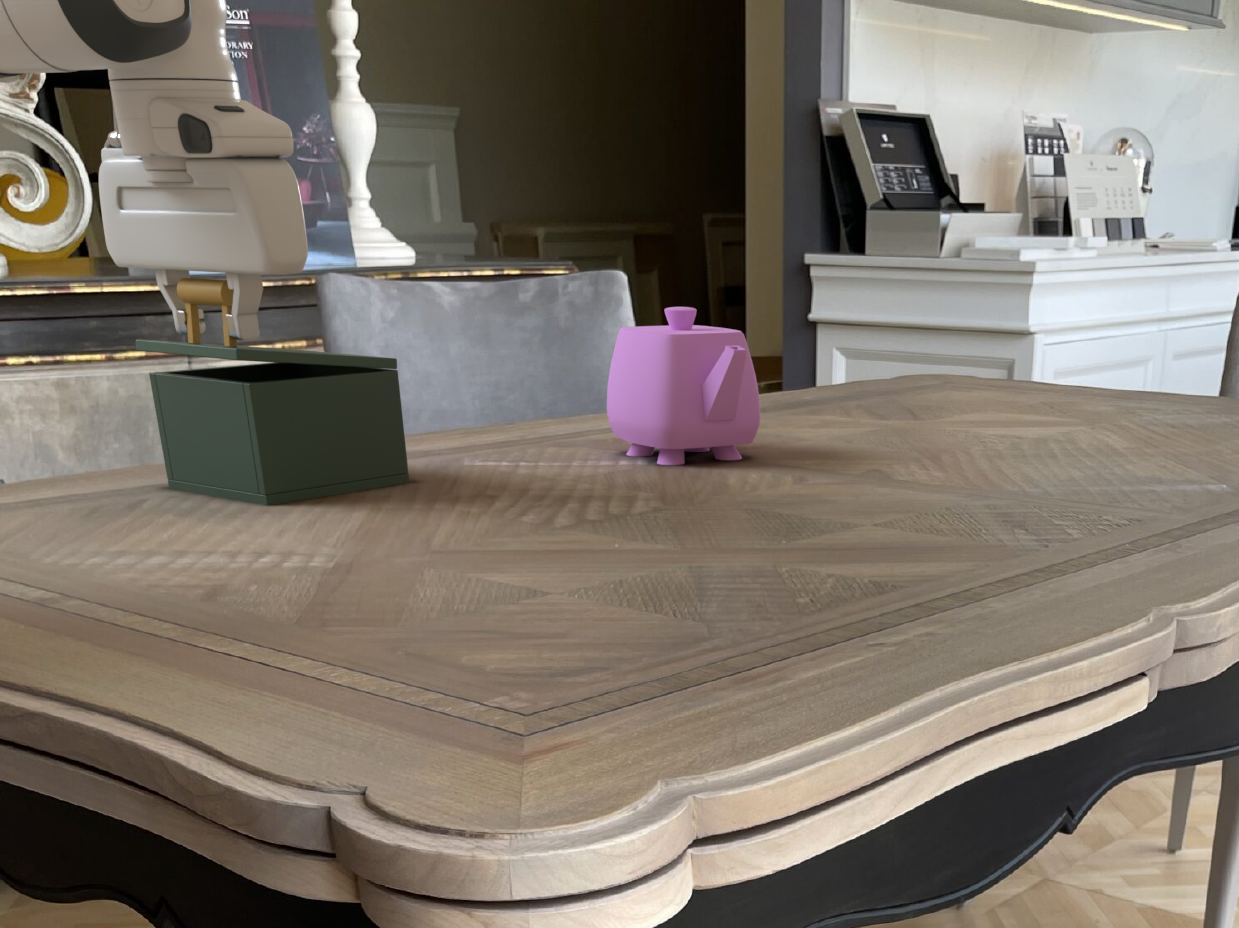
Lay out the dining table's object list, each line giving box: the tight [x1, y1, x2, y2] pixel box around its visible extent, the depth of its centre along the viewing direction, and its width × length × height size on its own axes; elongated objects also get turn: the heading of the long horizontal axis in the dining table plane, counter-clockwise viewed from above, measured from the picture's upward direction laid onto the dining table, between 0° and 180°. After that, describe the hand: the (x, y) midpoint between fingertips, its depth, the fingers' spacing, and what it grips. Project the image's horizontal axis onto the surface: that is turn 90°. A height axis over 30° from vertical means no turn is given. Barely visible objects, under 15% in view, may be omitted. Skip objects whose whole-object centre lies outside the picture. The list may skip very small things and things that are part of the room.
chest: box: [148, 362, 410, 506], centre depth 128 cm, size 15×13×9 cm
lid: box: [135, 277, 398, 370], centre depth 124 cm, size 15×13×5 cm
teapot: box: [606, 306, 761, 466], centre depth 144 cm, size 20×12×13 cm, turn 33°
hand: (218, 337), depth 121 cm, fingers closed on lid, 5 cm apart
